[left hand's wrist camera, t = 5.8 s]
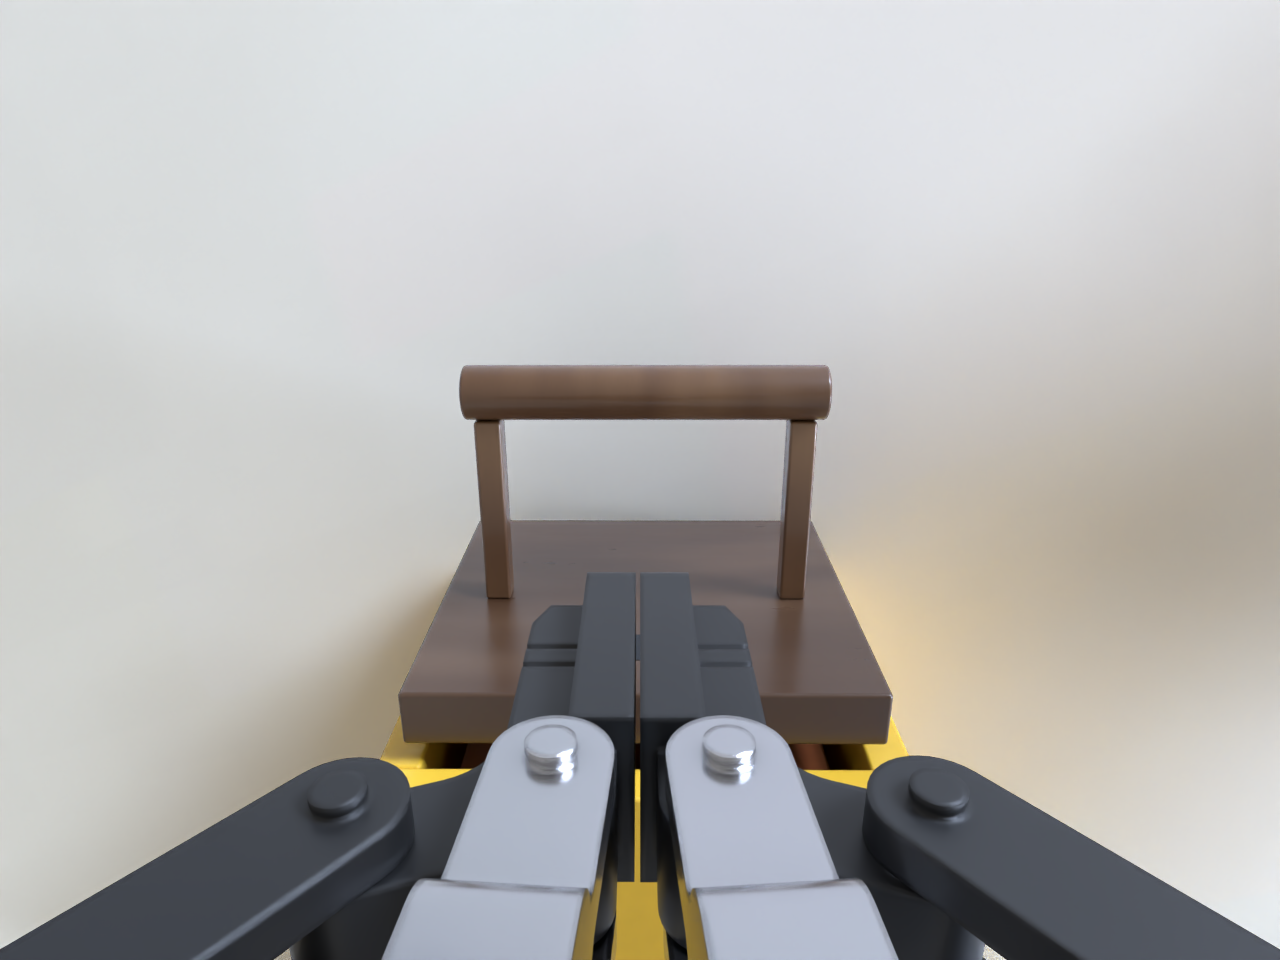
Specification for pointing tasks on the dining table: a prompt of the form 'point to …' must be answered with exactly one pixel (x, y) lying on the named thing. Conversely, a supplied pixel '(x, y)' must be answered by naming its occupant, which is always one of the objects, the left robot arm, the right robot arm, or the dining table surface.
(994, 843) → the left robot arm
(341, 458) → the dining table surface
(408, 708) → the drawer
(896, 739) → the yellow box
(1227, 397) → the dining table surface
